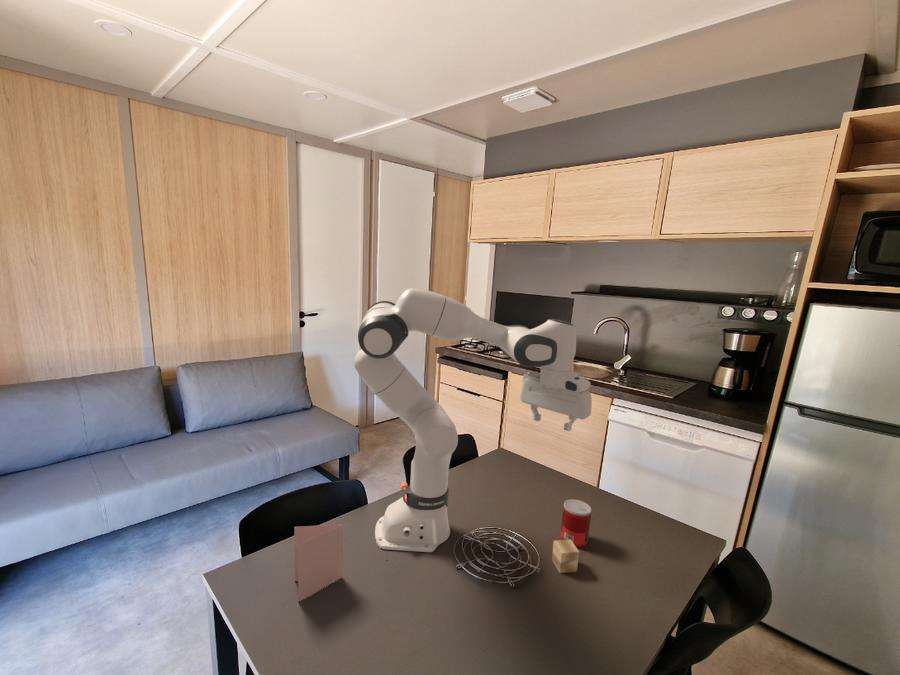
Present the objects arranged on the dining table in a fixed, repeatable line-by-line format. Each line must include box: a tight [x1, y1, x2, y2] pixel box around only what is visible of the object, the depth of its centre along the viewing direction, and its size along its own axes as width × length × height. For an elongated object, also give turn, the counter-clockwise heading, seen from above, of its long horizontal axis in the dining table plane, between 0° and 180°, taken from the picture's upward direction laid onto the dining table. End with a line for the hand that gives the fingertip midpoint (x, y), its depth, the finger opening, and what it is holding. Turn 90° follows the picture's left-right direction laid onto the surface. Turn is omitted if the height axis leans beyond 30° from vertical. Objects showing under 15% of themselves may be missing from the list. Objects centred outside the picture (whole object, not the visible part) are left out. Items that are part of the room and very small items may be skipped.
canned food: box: [560, 499, 593, 548], centre depth 119 cm, size 8×8×11 cm
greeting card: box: [293, 523, 344, 603], centre depth 95 cm, size 11×7×15 cm, turn 100°
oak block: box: [551, 539, 580, 574], centre depth 109 cm, size 5×5×6 cm
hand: (551, 425), depth 112 cm, fingers open, 8 cm apart
